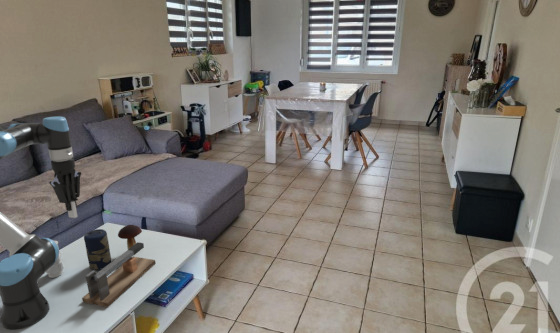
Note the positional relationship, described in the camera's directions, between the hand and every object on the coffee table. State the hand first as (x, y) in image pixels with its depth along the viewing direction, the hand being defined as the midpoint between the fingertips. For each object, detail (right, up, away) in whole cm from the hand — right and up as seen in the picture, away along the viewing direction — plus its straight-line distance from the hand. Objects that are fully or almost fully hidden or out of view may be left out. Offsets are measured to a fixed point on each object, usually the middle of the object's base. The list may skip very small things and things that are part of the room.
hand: (73, 216), depth 143 cm
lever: (+12, -22, +15) cm, 29 cm away
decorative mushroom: (+7, -23, +40) cm, 47 cm away
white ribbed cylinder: (-21, -29, +23) cm, 43 cm away
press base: (+12, -30, +17) cm, 37 cm away
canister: (-3, -27, +29) cm, 40 cm away
